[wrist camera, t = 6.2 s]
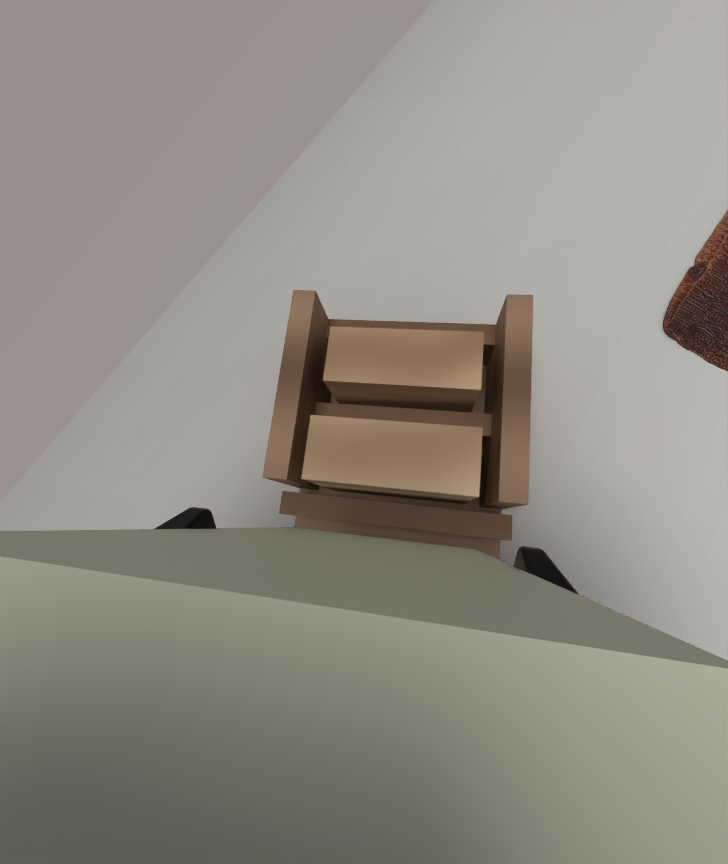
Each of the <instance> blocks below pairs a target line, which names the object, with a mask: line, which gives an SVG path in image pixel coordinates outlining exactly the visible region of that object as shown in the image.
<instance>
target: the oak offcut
mask: <svg viewBox="0 0 728 864" xmlns="http://www.w3.org/2000/svg"><path fill="white" fill-rule="evenodd" d="M482 431H483V428H482V427H468V426H454V425H441V424H427V423H414V422H400V421H387V420H373V419H359V418H346V417H332V416H319V415H311V416H310V423H309V430H308V436H307V443H306V450H305V457H304V464H303V471H302V478H301V479H303V480H306V481H309V482H311V483H314V484H317V485H319V486H322V487H325V488H327V489H330V490H333V491H342V492H351V493H361V494H370V495H380V496H389V497H399V498H409V499H418V500H428V501H437V502H447V503H456V504H465V503H467V502H469V501H471V500H474V499H476V498H478V497H479V491H480V471H481V451H482Z"/></svg>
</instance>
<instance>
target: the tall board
mask: <svg viewBox="0 0 728 864" xmlns="http://www.w3.org/2000/svg"><path fill="white" fill-rule="evenodd" d="M0 864H728V661H727V660H725V659H722V658H720V657H718V656H716V655H713V654H711V653H709V652H707V651H704V650H702V649H700V648H698V647H695V646H693V645H691V644H689V643H686V642H684V641H682V640H680V639H677V638H675V637H673V636H670V635H668V634H666V633H664V632H661V631H659V630H657V629H655V628H652V627H650V626H648V625H646V624H643V623H641V622H639V621H637V620H634V619H632V618H630V617H627V616H625V615H623V614H621V613H618V612H616V611H614V610H612V609H609V608H607V607H605V606H603V605H600V604H598V603H596V602H594V601H591V600H589V599H587V598H584V597H582V596H580V595H578V594H575V593H573V592H571V591H569V590H566V589H564V588H562V587H560V586H557V585H555V584H553V583H551V582H548V581H546V580H544V579H542V578H539V577H537V576H535V575H532V574H530V573H527V572H525V571H523V570H520V569H518V568H516V567H514V566H512V565H510V564H508V563H505V562H503V561H501V560H499V559H496V558H494V557H492V556H489V555H487V554H485V553H483V552H480V551H478V550H476V549H469V548H461V547H452V546H444V545H436V544H428V543H420V542H412V541H403V540H395V539H387V538H379V537H371V536H363V535H354V534H346V533H338V532H330V531H322V530H314V529H305V528H297V527H291V528H216V529H139V530H64V531H0Z"/></svg>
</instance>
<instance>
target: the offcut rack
mask: <svg viewBox="0 0 728 864" xmlns="http://www.w3.org/2000/svg"><path fill="white" fill-rule="evenodd" d="M532 322H533V295H507V296H506V299H505V301H504V304H503V307H502V310H501V312H500V315H499V318H498V320H497V323H496V325H488V324H457V323H427V322H396V321H365V320H334V319H328V317H327V315H326V313H325V311H324V308H323V306H322V304H321V302H320V300H319V298H318V295H317V293H316V291H304V290H293V296H292V302H291V308H290V314H289V320H288V326H287V332H286V338H285V344H284V350H283V356H282V363H281V369H280V375H279V381H278V387H277V393H276V399H275V405H274V411H273V417H272V423H271V429H270V435H269V441H268V447H267V453H266V459H265V465H264V471H263V478H267V479H270V480H274V481H277V482H281V483H284V484H287V485H291V486H294V487H298V488H300V492H299V493H295V492H286V491H283V492H282V498H281V505H280V511H279V513H280V514H288V515H296V520H295V527H297V528H305V529H314V530H322V531H330V532H338V533H346V534H354V535H363V536H371V537H379V538H387V539H395V540H403V541H412V542H420V543H428V544H436V545H444V546H452V547H461V548H469V549H476V550H478V551H480V552H483V553H485V554H487V555H489V556H492V557H494V558H496V559H499V548H500V539H502V540H510V541H511V539H512V516H510V515H501V509H506V508H511V507H516V506H522V505H527V504H528V484H529V443H530V403H531V363H532ZM330 326H332V327H360V328H389V329H417V330H445V331H473V332H484V344H483V363H482V382H481V391H480V393H479V396H478V398H477V400H476V403H475V405H474V407H473V409H472V412H471V413H468V412H454V411H439V410H424V409H410V408H395V407H380V406H365V405H351V404H339V403H338V402H337V400H336V399H335V397H334V396H333V394H332V393H331V392H330V390H329V389H328V387H327V386H326V384H325V383H324V381H323V376H324V369H325V362H326V355H327V347H328V340H329V333H330ZM311 415H319V416H332V417H346V418H359V419H373V420H387V421H400V422H414V423H427V424H441V425H454V426H468V427H482V428H483V431H482V451H481V471H480V491H479V497H478V498H476V499H474V500H471V501H469V502H467V503H465V504H456V503H447V502H437V501H428V500H418V499H409V498H399V497H389V496H380V495H370V494H361V493H351V492H342V491H333V490H330V489H327V488H325V487H322V486H319V485H317V484H314V483H311V482H309V481H306V480H303V479H301V478H302V471H303V464H304V457H305V450H306V443H307V436H308V430H309V423H310V416H311Z"/></svg>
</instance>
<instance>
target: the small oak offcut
mask: <svg viewBox="0 0 728 864" xmlns="http://www.w3.org/2000/svg"><path fill="white" fill-rule="evenodd" d="M483 344H484V332H473V331H445V330H417V329H389V328H360V327H332V326H330V333H329V340H328V347H327V355H326V362H325V369H324V376H323V381H324V383H325V384H326V386H327V387H328V389H329V390H330V392H331V393H332V394H333V396H334V397H335V399H336V400H337V402H338V403H339V404H351V405H365V406H380V407H395V408H410V409H424V410H439V411H454V412H468V413H471V412H472V409H473V407H474V405H475V403H476V400H477V398H478V396H479V393H480V391H481V382H482V363H483Z"/></svg>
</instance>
